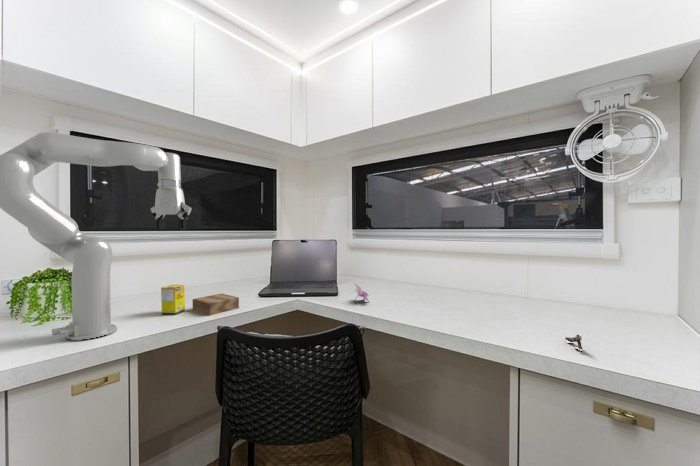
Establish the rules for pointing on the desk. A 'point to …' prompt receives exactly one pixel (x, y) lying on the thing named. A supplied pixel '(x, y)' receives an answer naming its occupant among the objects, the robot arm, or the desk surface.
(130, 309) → the desk surface
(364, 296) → the lily
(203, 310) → the walnut block
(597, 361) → the desk surface
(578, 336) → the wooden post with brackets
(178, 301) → the supplement box
